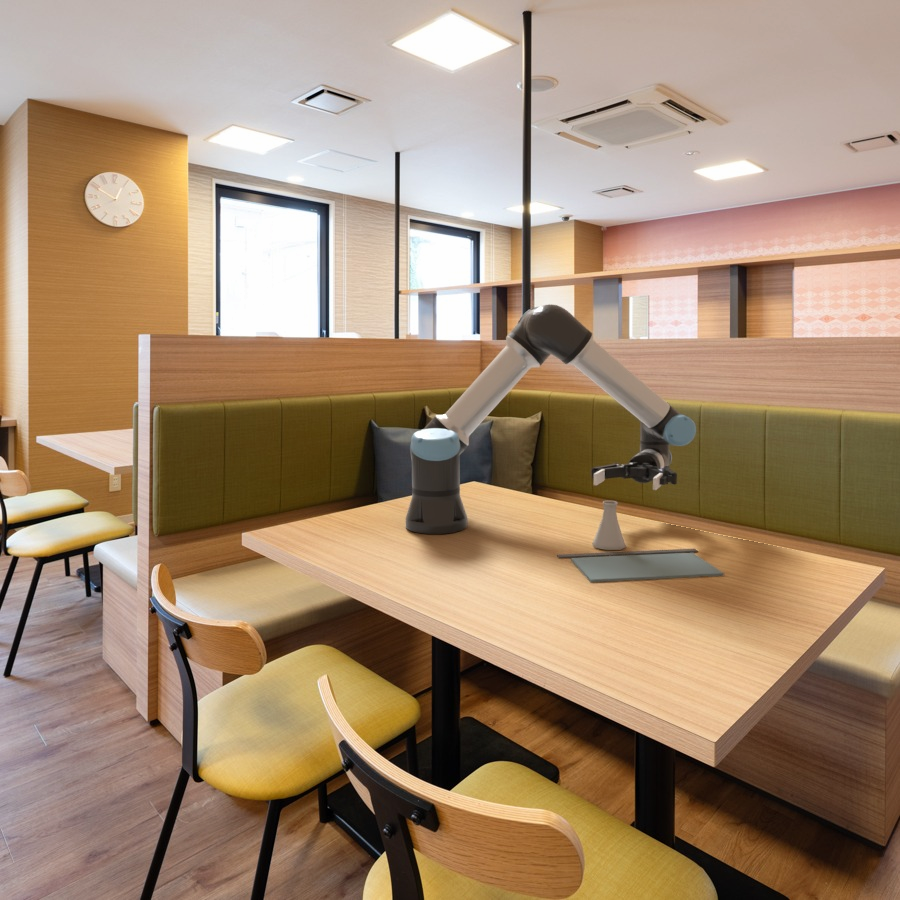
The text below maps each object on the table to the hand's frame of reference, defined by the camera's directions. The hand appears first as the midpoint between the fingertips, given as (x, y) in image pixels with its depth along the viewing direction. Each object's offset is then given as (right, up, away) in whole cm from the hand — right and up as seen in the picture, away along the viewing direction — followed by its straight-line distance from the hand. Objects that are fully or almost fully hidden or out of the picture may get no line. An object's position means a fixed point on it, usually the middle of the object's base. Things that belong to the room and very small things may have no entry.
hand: (624, 481), depth 154 cm
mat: (-1, -16, -21) cm, 26 cm away
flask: (-5, -14, -6) cm, 16 cm away
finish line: (-2, -15, -12) cm, 19 cm away
